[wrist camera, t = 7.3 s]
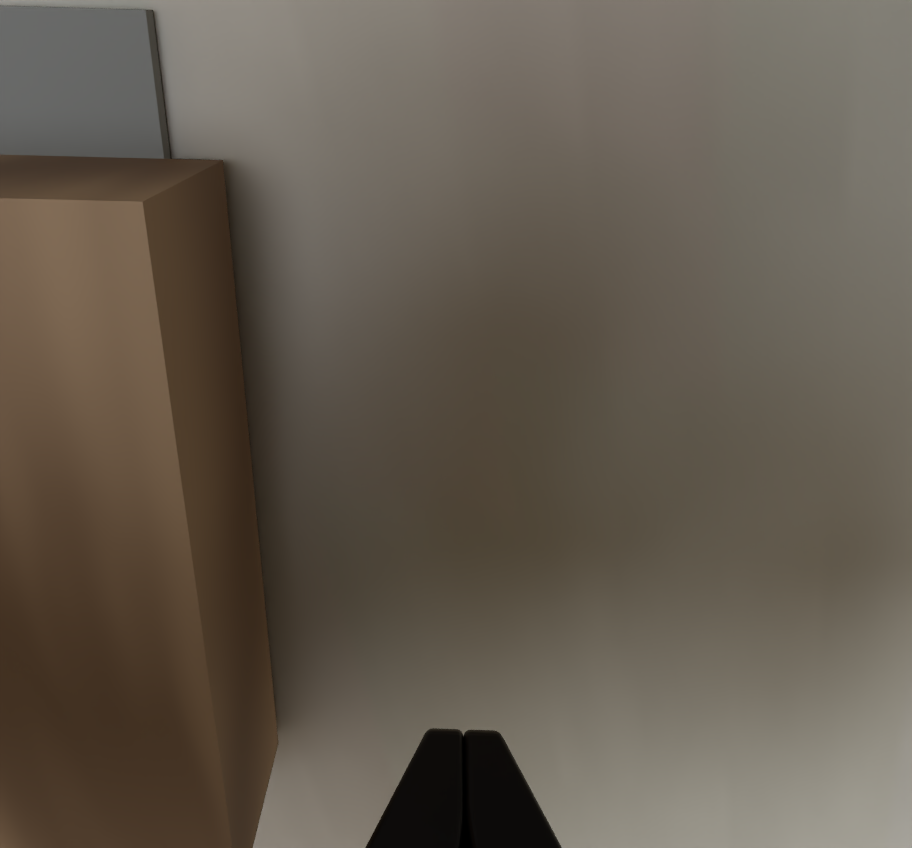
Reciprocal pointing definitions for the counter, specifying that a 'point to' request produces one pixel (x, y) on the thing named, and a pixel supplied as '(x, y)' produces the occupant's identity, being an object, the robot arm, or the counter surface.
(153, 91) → the mat
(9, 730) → the slab
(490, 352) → the counter surface
